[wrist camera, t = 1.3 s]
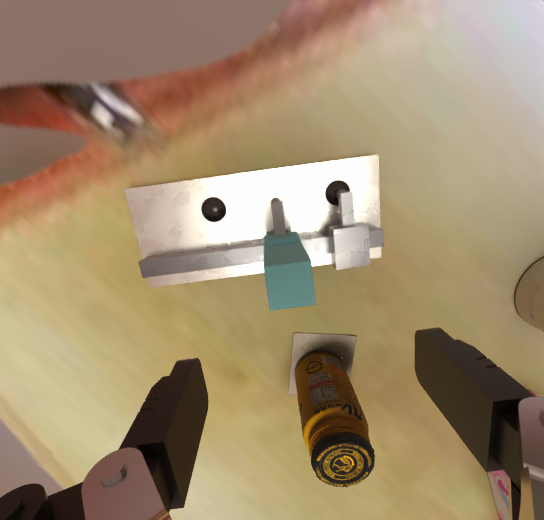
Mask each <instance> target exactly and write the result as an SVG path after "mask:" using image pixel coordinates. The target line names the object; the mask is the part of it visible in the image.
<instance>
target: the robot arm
mask: <svg viewBox="0 0 544 520" xmlns="http://www.w3.org/2000/svg"><path fill="white" fill-rule="evenodd" d="M515 304H516V308H517V311H518V313H519V314H520V316H521V317H522V318H523V319H524V320H525V321H526V322H527V323H529V324H531V325H533V326H535V327H536V328H538V329H540V330H542V331H543V332H544V258H542V259H540V260H539V261H538V262H536V263H535V264H534V265H532V266H531V268H530V269H529V270H528V271H527V272H526V273H525V274H524V276H523V277H522V279H521V280H520V283H519V285H518V287H517V291H516V296H515ZM415 372H416V376H417V378H418V381H419V383H420V384H421V386H422V387H423V389H424V390H425V391H426V393H427V394H428V395H429V397H430V398H431V399H432V401H433V402H434V403H435V404H436V406H437V407H438V408H439V410H440V411H441V412H442V414H443V415H444V416H445V418H446V419H447V420H448V422H449V423H450V424H451V426H452V427H453V428H454V430H455V431H456V432H457V434H458V435H459V436H460V438H461V439H462V440H463V442H464V443H465V444H466V446H467V447H468V448H469V450H470V451H471V452H472V454H473V455H474V456H475V458H476V459H477V460H478V462H479V463H480V464H481V466H482V467H483V468H484V470H485V471H486V472H492V471H500V470H504V471H505V473H506V474H507V475H508V476H509V487H508V488H509V513H510V520H544V397H535V396H534V395H533V394H532V393H530V392H529V391H528V390H527V389H525V388H524V387H523V386H522V385H521V384H519V383H518V382H517V381H516V380H514V379H513V378H512V377H511V376H509V375H508V374H507V373H506V372H504V371H503V370H502V369H501V368H500V367H497V366H496V364H495V363H493V362H492V361H491V360H490V359H487V358H486V356H485V355H483V354H482V353H481V352H480V351H479V350H477V349H476V348H475V347H473V346H471V345H469V344H467V343H465V342H462V341H460V340H454V339H453V338H451V337H450V336H449V335H448V334H447V333H446V332H444V331H443V330H442V329H441V328H431V329H423V330H417V331H416V333H415ZM207 411H208V393H207V388H206V384H205V380H204V375H203V371H202V367H201V363H200V360H199V359H198V358H194V359H186V360H178V361H177V362H176V363H175V365H174V368H173V370H172V372H171V374H170V376H165V377H162V378H161V379H160V380H159V381H158V382H157V383H156V384H155V385H154V386H153V387H152V388H151V390H150V392H149V394H148V396H147V398H146V401H145V402H144V403H143V405H142V407H141V409H140V412H139V413H138V414H137V416H136V418H135V420H134V422H133V424H132V426H131V427H130V429H129V431H128V433H127V435H126V437H125V439H124V440H123V442H122V444H121V446H120V448H119V450H117V451H114V452H112V453H110V454H108V455H107V456H105V457H104V458H103V459H101V460H100V461H99V462H98V463H97V464H96V465H94V467H93V468H92V469H91V470H90V471H89V473H88V474H87V476H86V477H85V479H84V482H82V483H79V484H77V485H75V486H72V487H70V488H67V489H65V490H62V491H60V492H57V493H55V494H52V495H50V496H47V494H46V492H45V490H44V487H43V486H41V485H40V484H27V485H24V486H21V487H18V488H16V489H14V490H12V491H10V492H9V493H7V494H5V495H4V496H2V497H1V498H0V520H172V519H171V517H170V515H169V511H170V509H177V508H184V505H185V500H186V496H187V492H188V488H189V484H190V480H191V476H192V472H193V468H194V464H195V460H196V456H197V452H198V448H199V444H200V439H201V435H202V431H203V427H204V423H205V419H206V415H207Z"/></svg>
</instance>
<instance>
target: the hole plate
mask: <svg viewBox="0 0 544 520" xmlns="http://www.w3.org/2000/svg"><path fill="white" fill-rule="evenodd" d="M124 191H125V194H126V198H127V202H128V206H129V210H130V213H131V217H132V221H133V225H134V229H135V232H136V236H137V240H138V244H139V248H140V251H141V255H142V260H141V261H139V266H140V269H141V273H142V277H143V278H148V282H149V286H150V288H151V287H159V286H166V285H174V284H182V283H189V282H197V281H205V280H212V279H220V278H227V277H235V276H243V275H250V274H258V273H264V235H270V234H275V232H274V225H273V217H272V209H271V202H272V199H273V198H275V197H277V198H279V200H280V201H281V200H282V202H283V211H284V219H285V228H286V232H293V231H297V233H298V235H299V236H300V241H301V243H302V245H303V246H304V248H305V250H306V252H307V254H308V255H309V257H310V259H311V262H312V266H319V265H327V264H332V265H333V266H334V267H335V269H336V270H339V269H346V268H354V267H362V266H369V265H370V259H373V258H380V257H381V247H383V246H384V243H383V229H381V228H380V196H379V162H378V154H377V155H370V156H363V157H356V158H348V159H341V160H334V161H326V162H319V163H312V164H304V165H297V166H290V167H282V168H275V169H268V170H260V171H253V172H246V173H238V174H231V175H224V176H216V177H209V178H202V179H194V180H187V181H180V182H173V183H165V184H158V185H151V186H143V187H136V188H129V189H124Z"/></svg>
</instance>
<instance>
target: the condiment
mask: <svg viewBox="0 0 544 520" xmlns="http://www.w3.org/2000/svg"><path fill="white" fill-rule="evenodd" d="M356 337H357V336H348V335H334V334H309V333H294V334H293V347H292V358H291V369H290V380H289V393H288V395H298V405H299V411H300V416H301V424H302V432H303V438H304V441H305V444H306V446H307V448H308V449H309V454H310V457H311V465H312V467H313V470H314V471H315V473H316V475H317V477H318V478H319V479H320V480H321V481H323V482H325V483H326V484H329V485H332V486H336V487H338V486H339V487H344V486H345V487H348V486H350V485H355V484H357V483H359V482H361V481H362V480H364V479H365V478H366V477H367V476H368V475H369V474H370V472H371V471H372V469H373V468H374V461H375V458H374V457H375V455H374V449H373V448H372V446H371V444H370V440H369V436H368V424H367V421H366V419H365V416H364V413H363V411H362V409H361V406H360V404H359V402H358V399H357V396H356V394H355V391H354V389H353V387H352V384H351V382H350V374H351V368H352V363H353V356H354V349H355V344H356ZM310 347H312V349H310ZM309 349H310V350H309ZM308 350H309V352H307V351H308ZM341 357H342V358H341Z"/></svg>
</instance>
